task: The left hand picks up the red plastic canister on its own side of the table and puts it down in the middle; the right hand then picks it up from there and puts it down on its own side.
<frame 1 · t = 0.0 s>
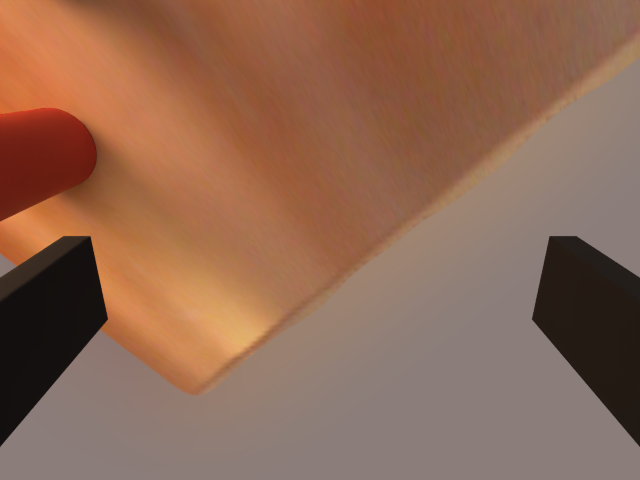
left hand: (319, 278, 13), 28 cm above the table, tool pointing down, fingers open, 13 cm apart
canister: (57, 148, 39), on the table
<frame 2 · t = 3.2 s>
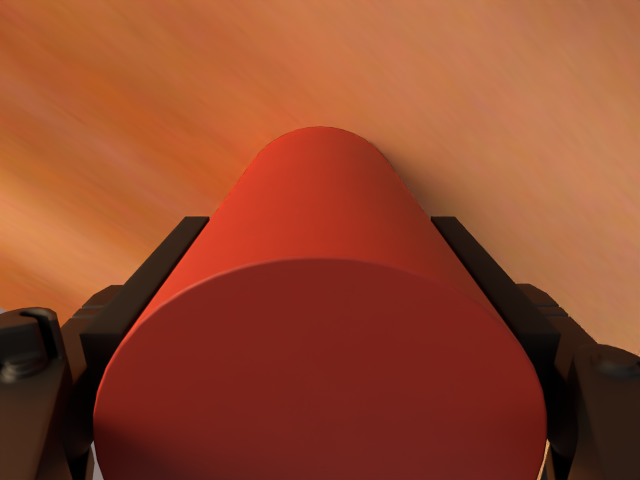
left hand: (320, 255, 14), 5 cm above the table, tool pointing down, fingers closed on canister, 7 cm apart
canister: (320, 209, 19), on the table, touching left hand
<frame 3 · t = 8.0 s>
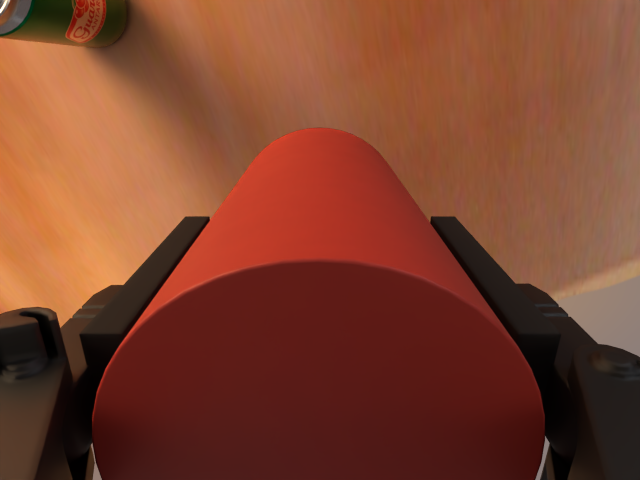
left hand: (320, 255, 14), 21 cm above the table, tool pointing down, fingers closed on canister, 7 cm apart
canister: (319, 210, 19), point 16 cm above the table, touching left hand
soda can: (95, 9, 30), on the table
when the left hand's fingers open (7 cm above the table, at t = 13.1 s): canister drops 2 cm, on the table.
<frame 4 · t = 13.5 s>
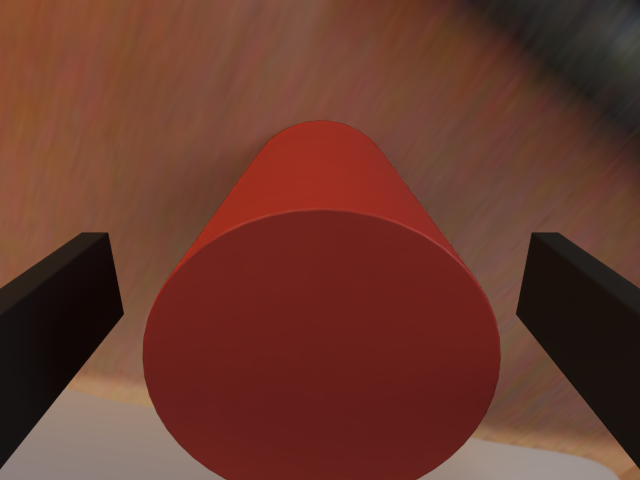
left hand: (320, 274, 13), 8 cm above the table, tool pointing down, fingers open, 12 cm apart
canister: (320, 196, 21), on the table
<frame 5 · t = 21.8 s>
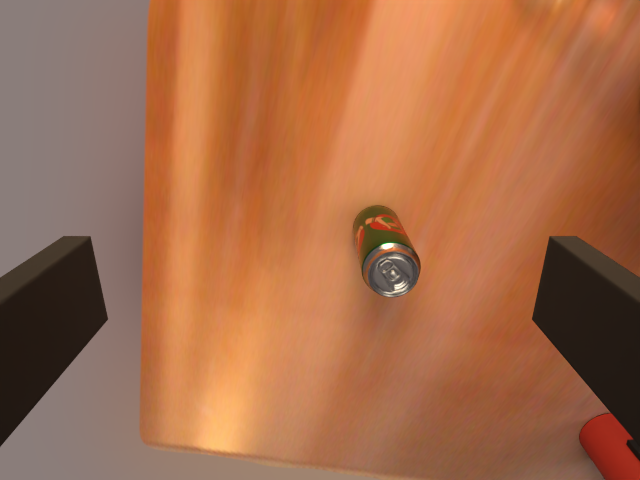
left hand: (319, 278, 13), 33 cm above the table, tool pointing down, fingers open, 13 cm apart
canister: (605, 433, 58), on the table, touching right hand
soda can: (375, 225, 47), on the table
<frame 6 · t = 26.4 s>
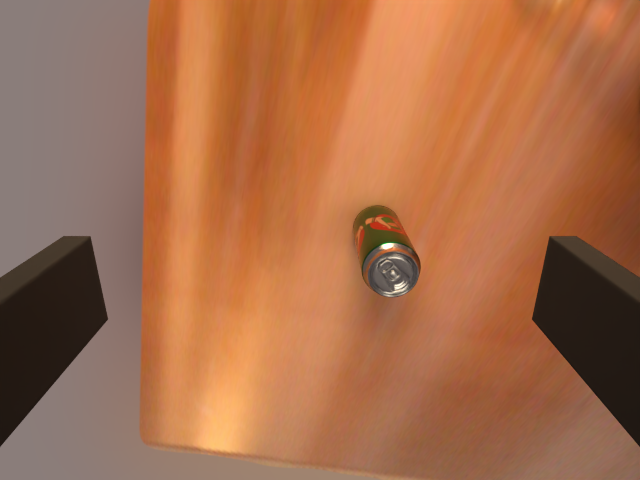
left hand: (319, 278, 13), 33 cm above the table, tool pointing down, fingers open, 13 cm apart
soda can: (375, 225, 47), on the table
when the right hand's fingers open (7 cm above the table, at t = 31.3 s): canister drops 2 cm, on the table.
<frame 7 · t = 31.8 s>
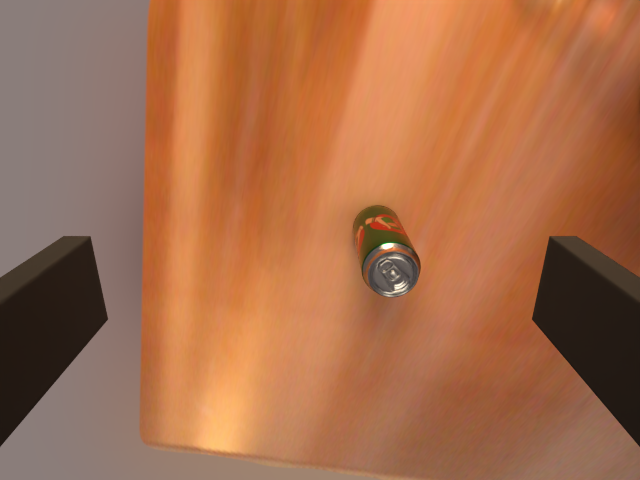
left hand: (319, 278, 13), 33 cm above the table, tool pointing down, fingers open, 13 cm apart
soda can: (375, 225, 47), on the table
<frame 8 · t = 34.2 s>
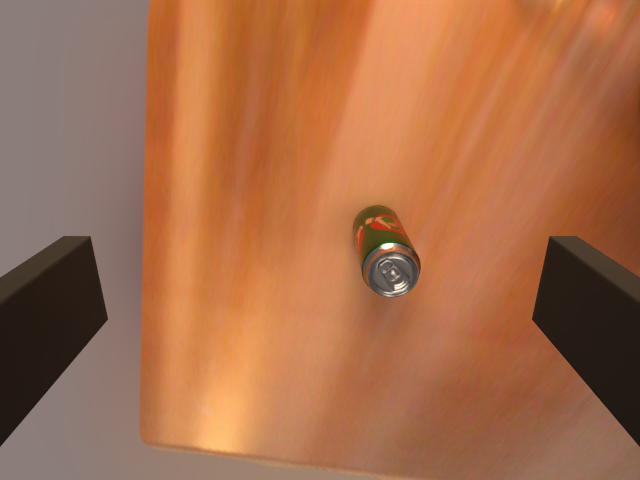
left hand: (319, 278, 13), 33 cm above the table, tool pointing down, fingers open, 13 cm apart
soda can: (375, 225, 47), on the table
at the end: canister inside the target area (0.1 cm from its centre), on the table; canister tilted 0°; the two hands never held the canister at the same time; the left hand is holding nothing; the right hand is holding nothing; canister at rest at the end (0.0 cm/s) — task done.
